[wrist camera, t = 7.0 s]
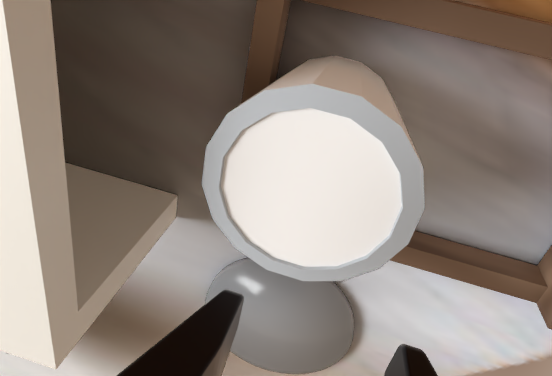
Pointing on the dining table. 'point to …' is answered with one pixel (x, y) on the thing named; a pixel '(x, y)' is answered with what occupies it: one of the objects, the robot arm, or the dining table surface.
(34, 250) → the cubby
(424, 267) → the tray
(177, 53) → the dining table surface
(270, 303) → the coaster
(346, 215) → the white tapered cup
